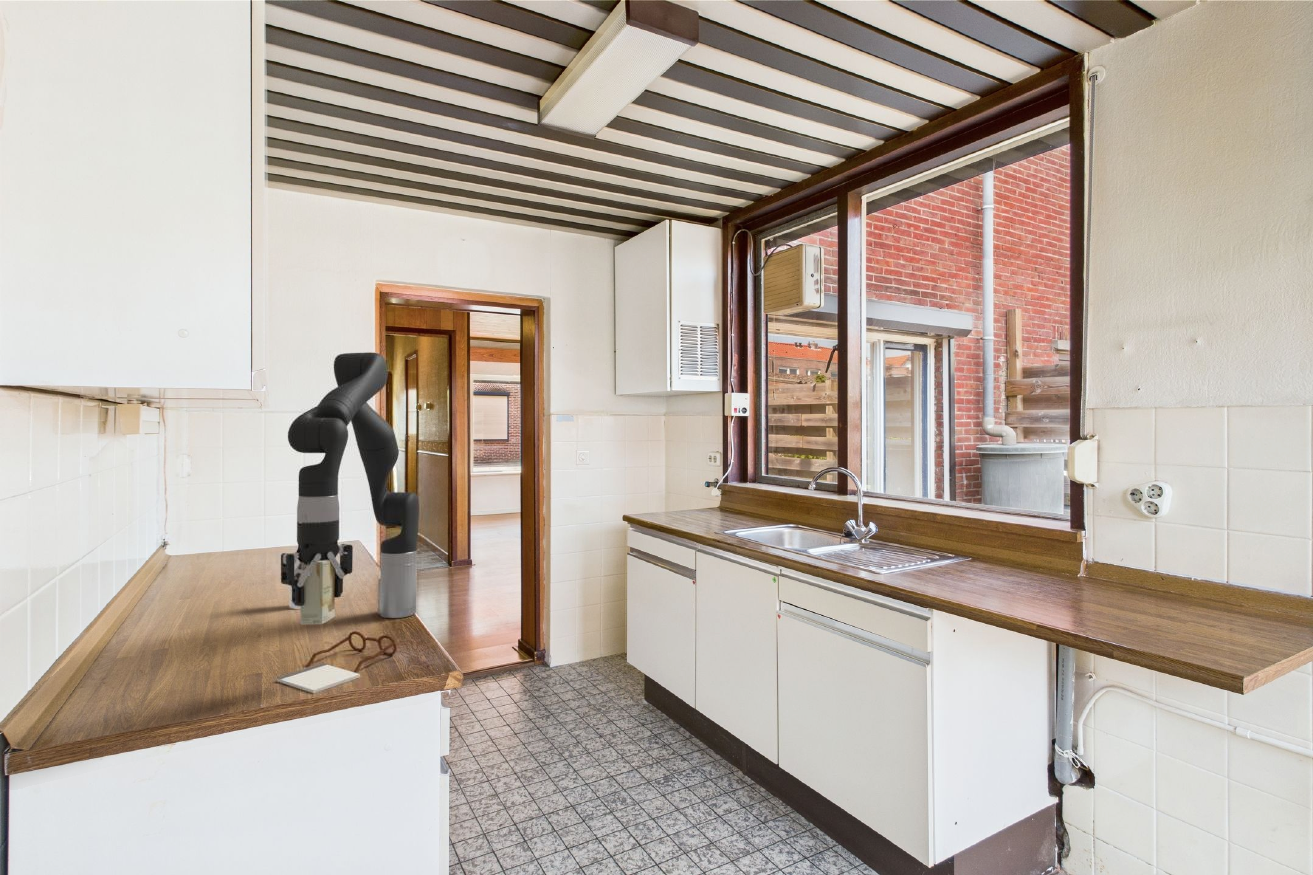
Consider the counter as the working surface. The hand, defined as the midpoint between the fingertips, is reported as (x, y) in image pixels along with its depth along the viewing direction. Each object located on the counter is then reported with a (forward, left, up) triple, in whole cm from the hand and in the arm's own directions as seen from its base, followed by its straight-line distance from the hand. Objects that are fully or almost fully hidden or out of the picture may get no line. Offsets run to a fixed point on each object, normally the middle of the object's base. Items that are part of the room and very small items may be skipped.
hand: (317, 600), depth 134 cm
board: (-1, +1, -16) cm, 16 cm away
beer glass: (-58, +33, -16) cm, 69 cm away
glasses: (-5, +11, -17) cm, 21 cm away
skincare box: (0, 0, -4) cm, 4 cm away
